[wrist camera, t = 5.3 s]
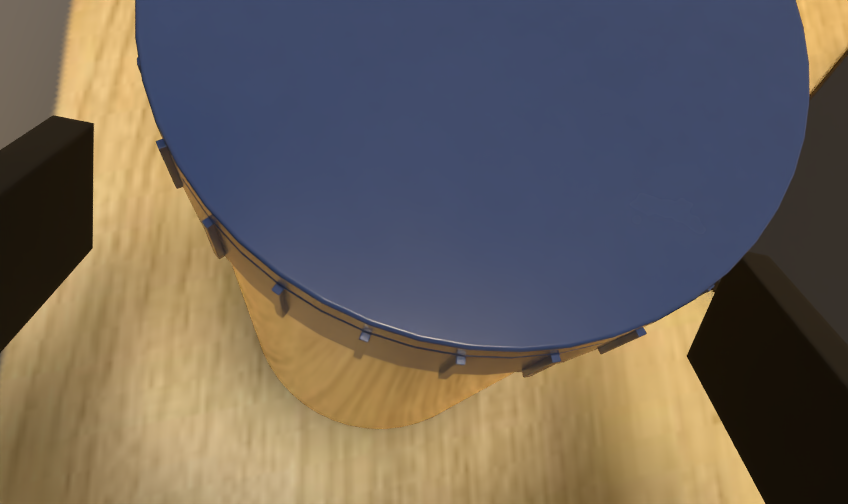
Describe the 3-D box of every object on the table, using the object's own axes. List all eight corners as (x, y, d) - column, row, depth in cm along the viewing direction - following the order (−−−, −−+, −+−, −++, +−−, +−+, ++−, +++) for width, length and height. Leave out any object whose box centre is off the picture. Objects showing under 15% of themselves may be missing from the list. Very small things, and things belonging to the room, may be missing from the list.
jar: (199, 304, 22) (21, 14, 9) (375, 142, 25) (458, -288, 11) (385, 485, 21) (518, 486, 8) (548, 300, 24) (872, 51, 10)
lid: (23, 73, 10) (-37, -15, 8) (442, -230, 12) (463, -345, 11) (493, 523, 9) (536, 532, 7) (835, 99, 11) (927, 32, 10)
